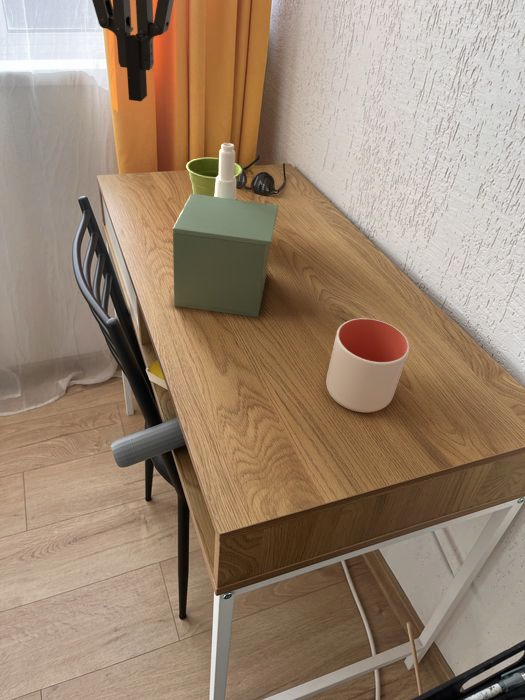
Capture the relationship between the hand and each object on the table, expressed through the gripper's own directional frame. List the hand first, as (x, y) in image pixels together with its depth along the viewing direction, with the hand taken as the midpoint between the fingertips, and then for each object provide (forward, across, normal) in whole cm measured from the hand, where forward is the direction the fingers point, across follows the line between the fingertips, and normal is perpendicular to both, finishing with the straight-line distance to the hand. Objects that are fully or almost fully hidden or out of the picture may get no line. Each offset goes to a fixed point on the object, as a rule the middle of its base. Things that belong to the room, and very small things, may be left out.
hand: (138, 97), depth 65 cm
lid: (+21, +10, +12) cm, 26 cm away
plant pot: (+35, +3, +41) cm, 54 cm away
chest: (+34, +10, +12) cm, 38 cm away
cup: (+35, +34, -10) cm, 50 cm away
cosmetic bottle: (+35, +8, +24) cm, 43 cm away
